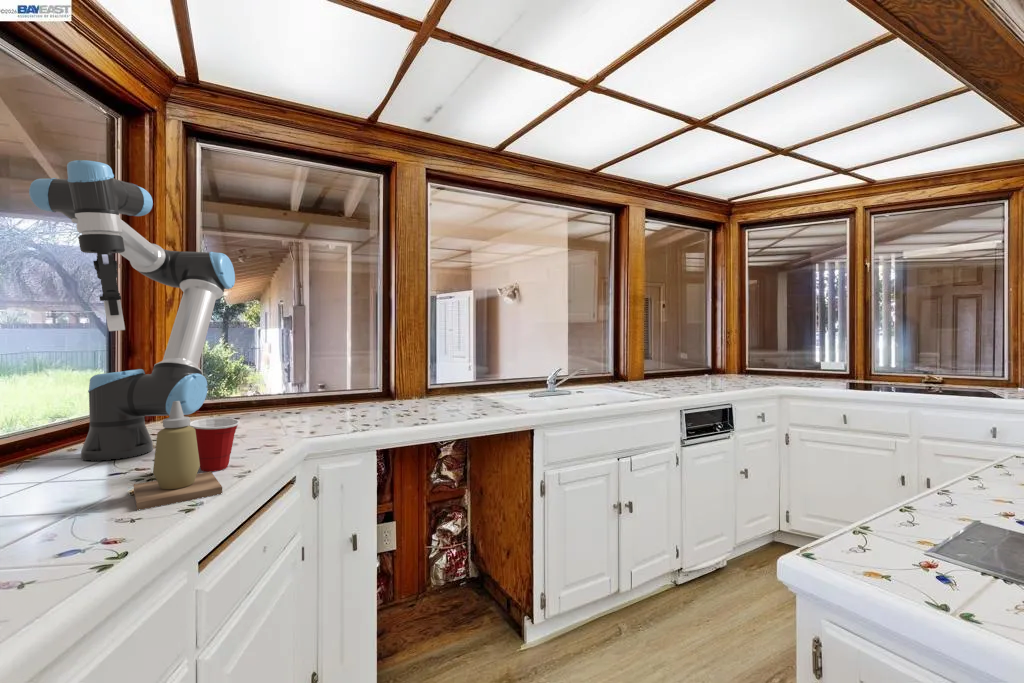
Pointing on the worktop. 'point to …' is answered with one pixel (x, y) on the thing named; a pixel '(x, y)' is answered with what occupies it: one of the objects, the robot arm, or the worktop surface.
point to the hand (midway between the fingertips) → (116, 329)
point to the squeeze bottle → (176, 451)
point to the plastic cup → (214, 442)
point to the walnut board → (175, 491)
